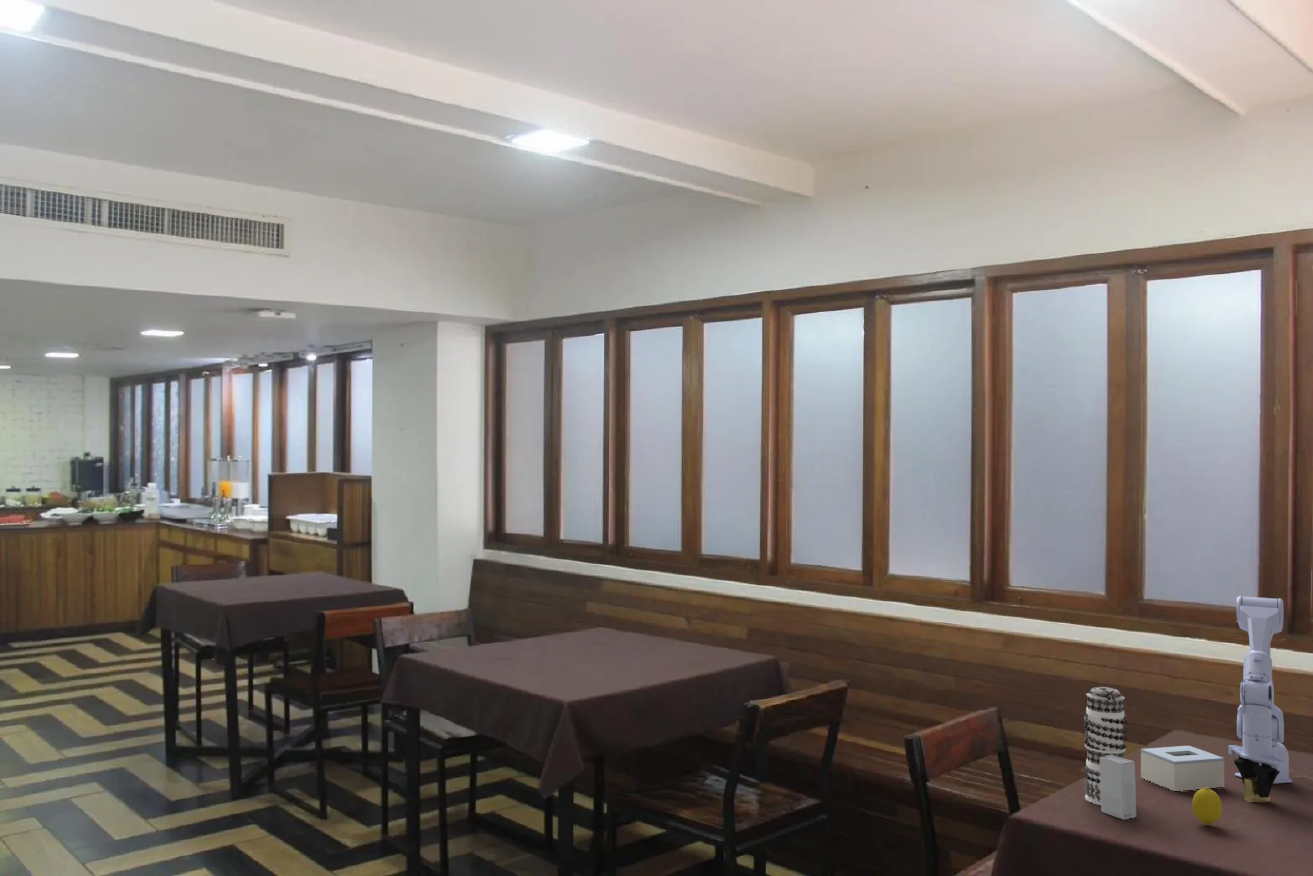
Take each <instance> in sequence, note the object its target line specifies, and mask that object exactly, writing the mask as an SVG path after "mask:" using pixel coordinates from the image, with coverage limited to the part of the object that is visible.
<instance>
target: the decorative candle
mask: <svg viewBox="0 0 1313 876" xmlns="http://www.w3.org/2000/svg"><path fill="white" fill-rule="evenodd" d="M1085 696H1087V700H1086V701H1087V702H1086V703H1087V706H1086V708H1085V709H1086V710H1085V713H1086V714H1085V715H1084V716H1083V721H1084V724H1083V729H1085V731H1084V735H1083V736H1084V737H1085V739H1084V741H1083V743H1084V747H1085V748H1086V749H1087V751H1086V753H1087V754H1086V755H1087V758H1086V760H1085V762H1086V764H1085V765H1086V766H1085V767H1084V771H1085V772H1086V773H1085V774H1084V777H1085V778H1086V780H1085V781H1084V782H1083V783H1084V787H1085V788H1084V789H1083V791H1084V793H1085V796H1084V799H1085V801H1087V802H1089V803H1091V802H1092V803H1091V804H1094V805H1097V806H1101V783H1100V757H1103V756H1108V755H1114V756H1118V757H1121V758H1124V753H1125V752H1127V751H1126V750H1127V745H1126V744H1124V741H1126V740H1127V739H1128V737H1127V736H1126V735H1125V734H1126V733H1127V732H1128V730H1127V729H1126V728H1125V727H1124V726H1125V725H1127V724H1128V722H1129V721H1128V720H1127V719H1126V718H1127V715H1126V713H1125V710H1124V706H1125V705H1124V702H1125V701H1124V699H1125V698H1126V697H1125V696H1123V695H1122V693H1121V692H1120V691H1119V690H1118V689H1117V688H1113V687H1107V686H1095V687H1092V688H1090V691H1089V692H1087V693H1085Z"/></svg>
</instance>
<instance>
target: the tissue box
mask: <svg viewBox="0 0 1313 876" xmlns="http://www.w3.org/2000/svg"><path fill="white" fill-rule="evenodd" d="M1142 778H1143V779H1142ZM1140 779H1142V780H1144V779H1145V780H1144V781H1147V780H1148V781H1147V782H1149V781H1151V782H1150V783H1152V782H1153V783H1152V784H1154V783H1155V784H1154V785H1156V784H1158V785H1157V786H1159V785H1160V786H1159V787H1161V786H1164V787H1167V788H1169V789H1170V790H1169V791H1171V790H1173V791H1181V792H1184V791H1183V790H1193V791H1195V790H1194V789H1204V788H1205V787H1208V788H1216V787H1224V788H1225V758H1224V757H1222V756H1219V755H1217V754H1214V753H1211V752H1208V751H1206V750H1203V749H1200V748H1197V747H1194V746H1191V745H1179V746H1178V745H1177V746H1163V747H1153V748H1152V747H1149V748H1141V749H1140ZM1164 787H1163V788H1164ZM1173 791H1172V792H1173Z"/></svg>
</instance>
